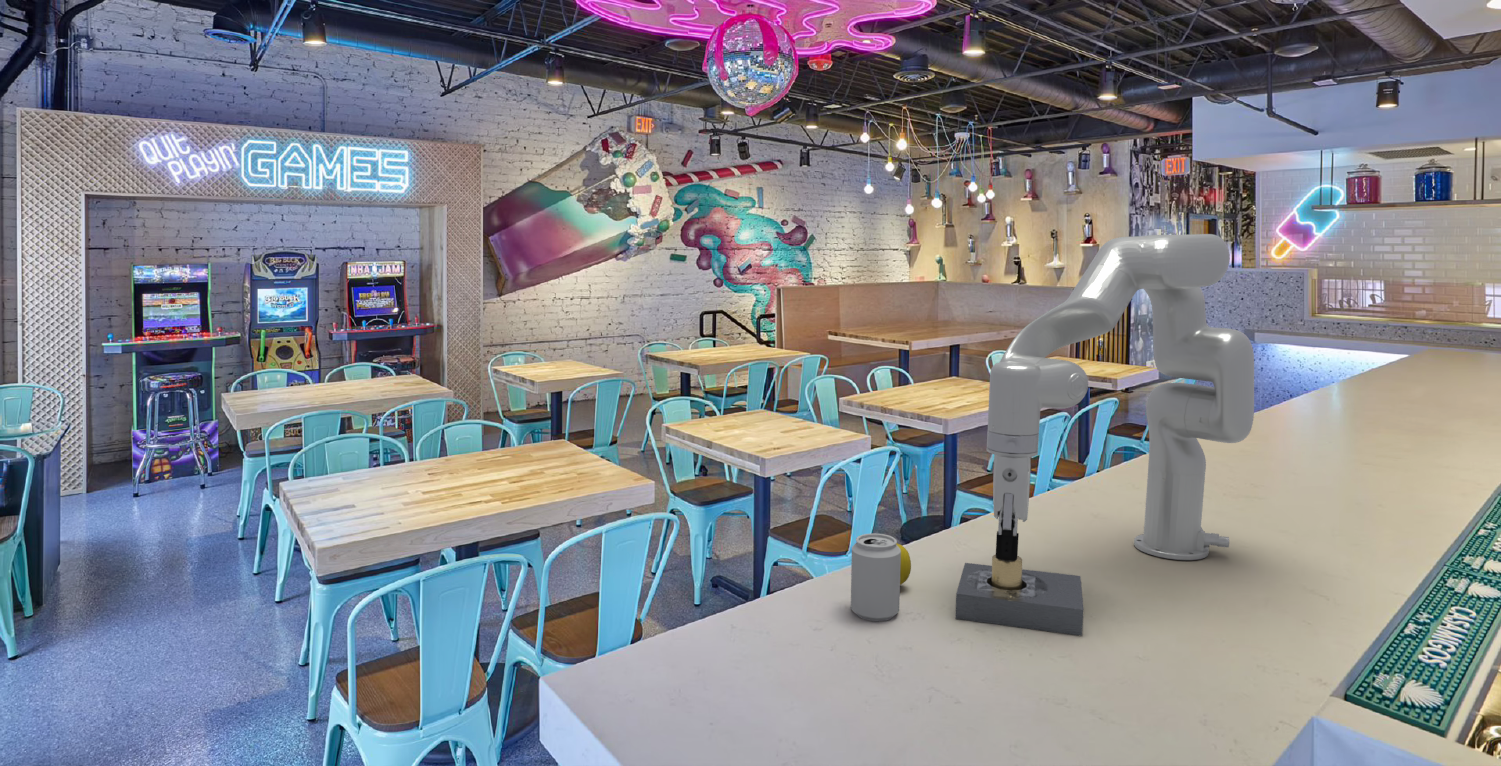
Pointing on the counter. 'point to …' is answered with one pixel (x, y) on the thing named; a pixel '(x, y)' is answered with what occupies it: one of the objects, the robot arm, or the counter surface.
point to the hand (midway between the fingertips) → (1006, 558)
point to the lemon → (904, 564)
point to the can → (875, 577)
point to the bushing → (1007, 574)
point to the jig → (1022, 600)
